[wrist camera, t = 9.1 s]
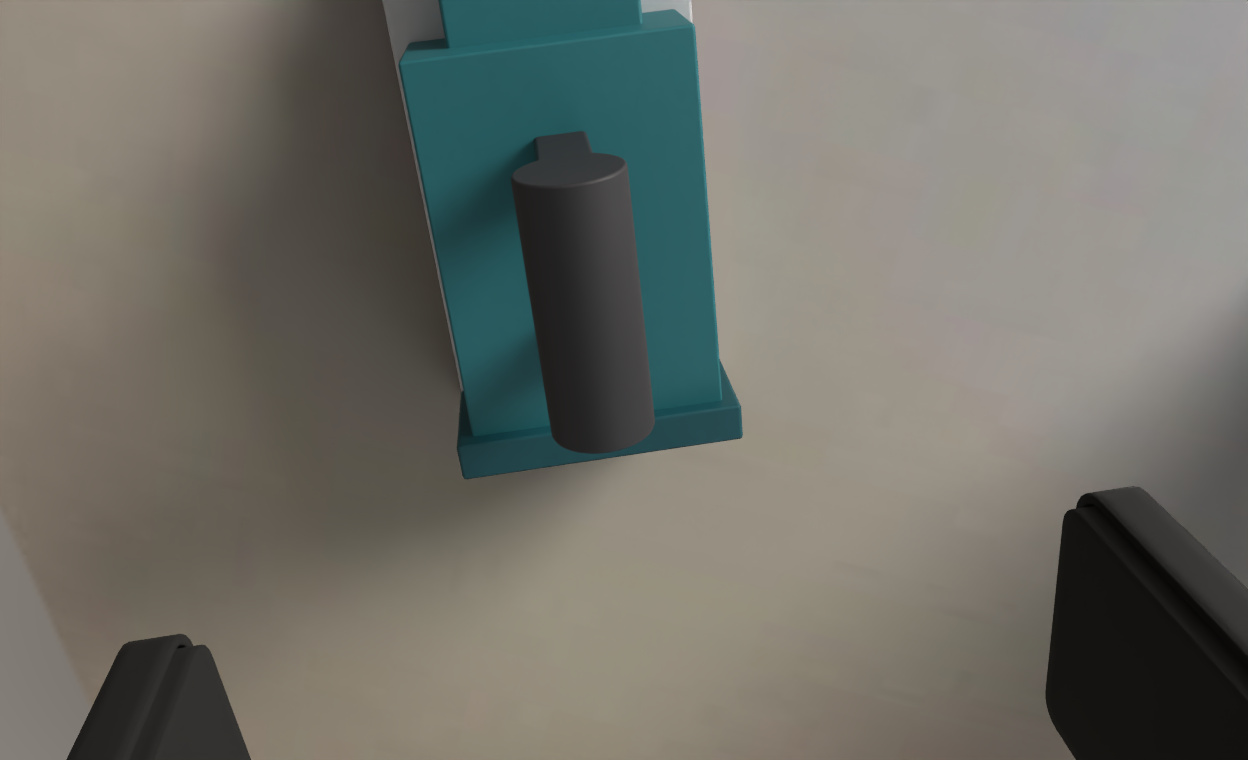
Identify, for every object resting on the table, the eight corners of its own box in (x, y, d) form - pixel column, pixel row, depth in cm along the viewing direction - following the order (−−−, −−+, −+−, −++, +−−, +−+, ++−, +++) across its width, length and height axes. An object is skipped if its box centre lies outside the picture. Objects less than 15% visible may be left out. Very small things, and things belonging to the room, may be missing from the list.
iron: (369, -87, 24) (306, -65, 16) (676, -124, 24) (760, -122, 16) (467, 406, 30) (456, 595, 22) (714, 370, 30) (788, 543, 22)
